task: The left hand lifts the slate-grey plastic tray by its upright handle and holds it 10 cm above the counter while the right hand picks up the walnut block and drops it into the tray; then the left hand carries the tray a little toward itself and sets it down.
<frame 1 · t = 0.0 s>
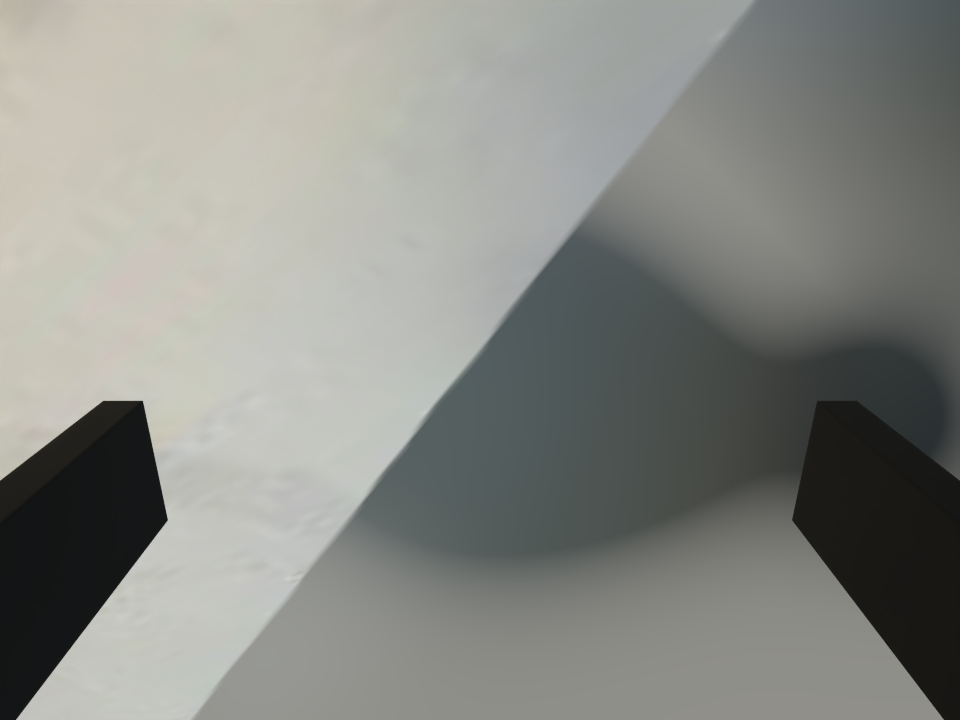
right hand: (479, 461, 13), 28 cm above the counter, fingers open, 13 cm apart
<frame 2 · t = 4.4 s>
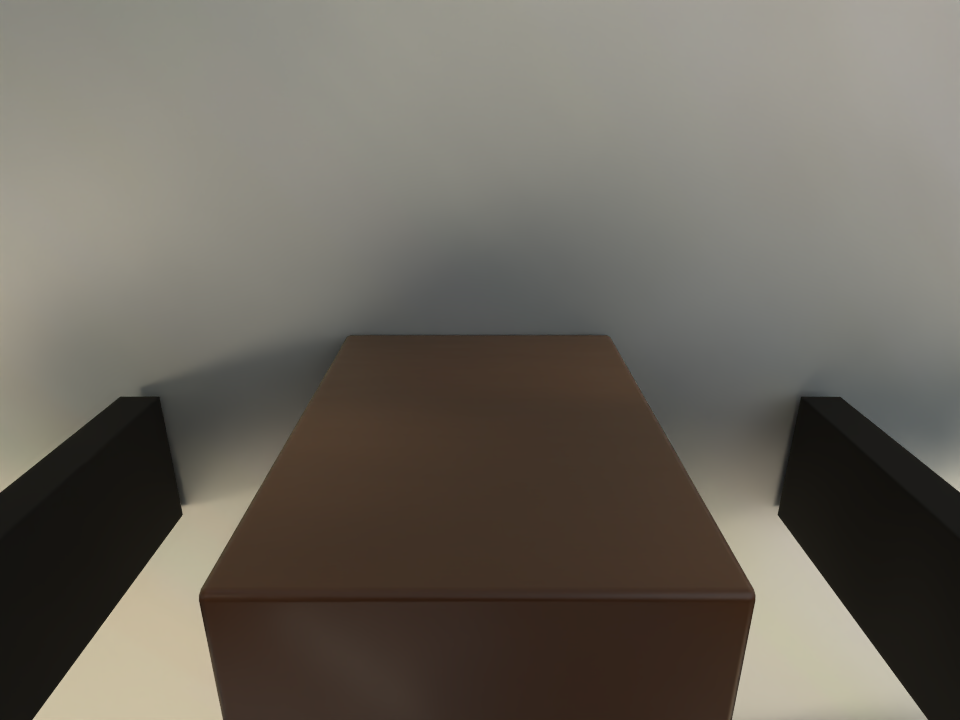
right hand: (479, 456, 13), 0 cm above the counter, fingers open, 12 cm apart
block: (478, 449, 13), on the counter
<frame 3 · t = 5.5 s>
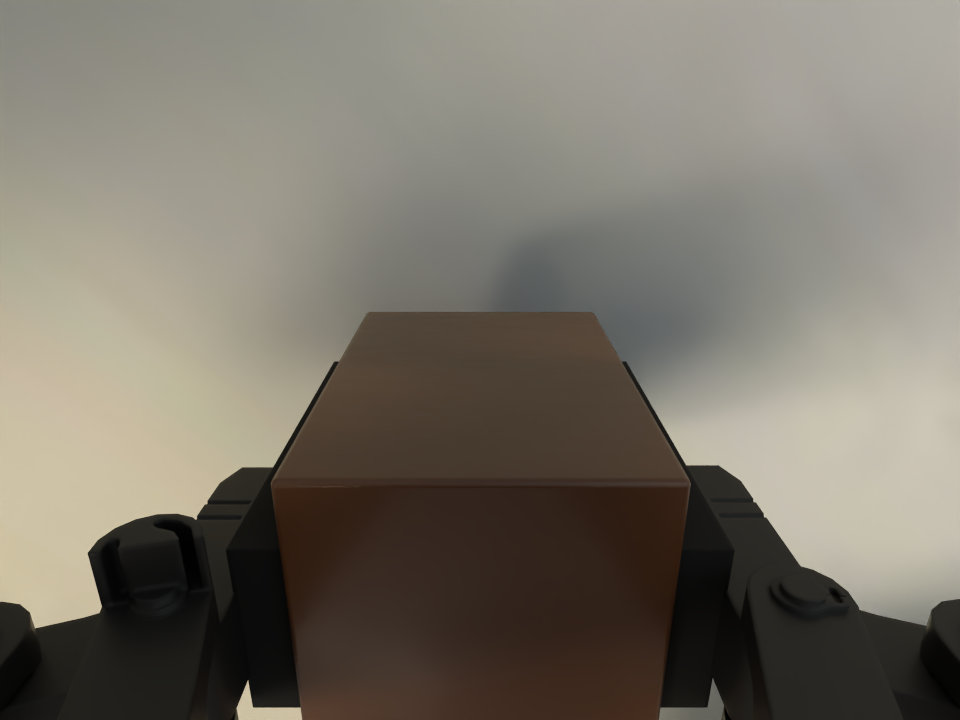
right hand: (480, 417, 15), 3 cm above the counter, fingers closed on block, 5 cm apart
block: (480, 414, 15), point 3 cm above the counter, touching right hand
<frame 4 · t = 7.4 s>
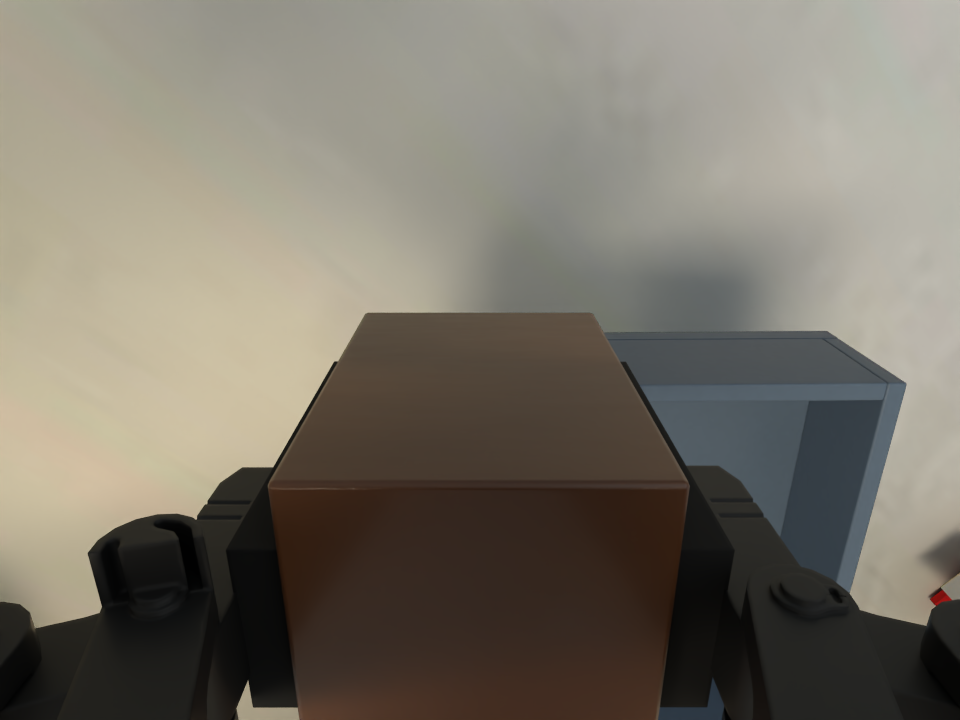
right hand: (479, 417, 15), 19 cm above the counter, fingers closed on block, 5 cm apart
block: (479, 414, 15), point 19 cm above the counter, touching right hand
tray: (610, 503, 27), point 10 cm above the counter, touching left hand
when the right hand's fingers open (15 cm above the counter, at t = 9.3 s): block drops 4 cm, resting on tray.
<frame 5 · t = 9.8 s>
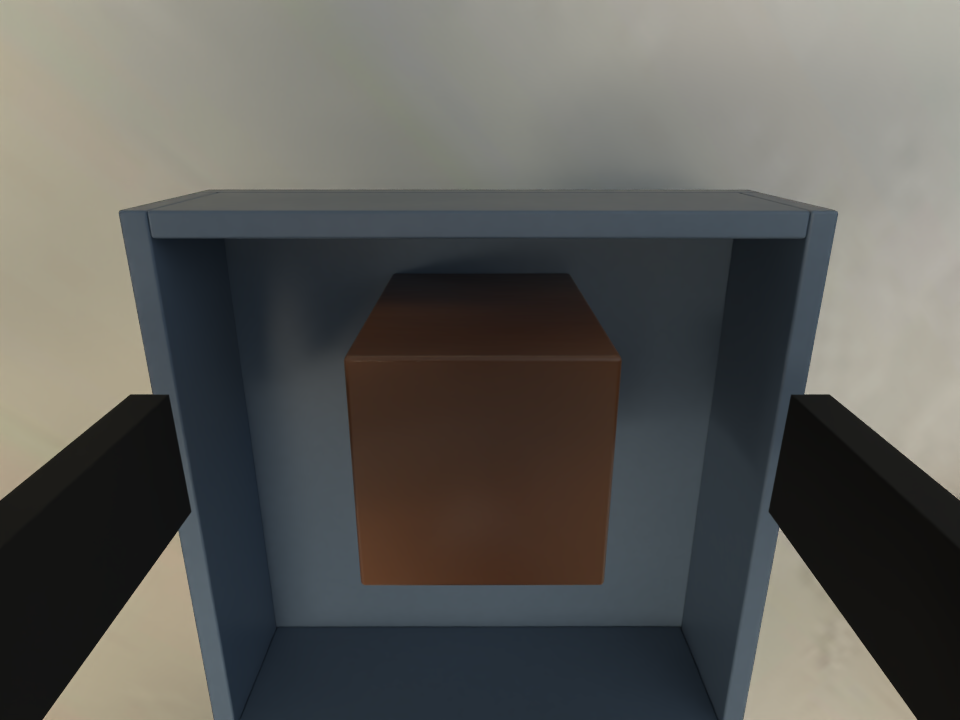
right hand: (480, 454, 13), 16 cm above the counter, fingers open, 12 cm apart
block: (481, 356, 19), point 10 cm above the counter, touching tray
tray: (478, 433, 21), point 10 cm above the counter, touching block, left hand
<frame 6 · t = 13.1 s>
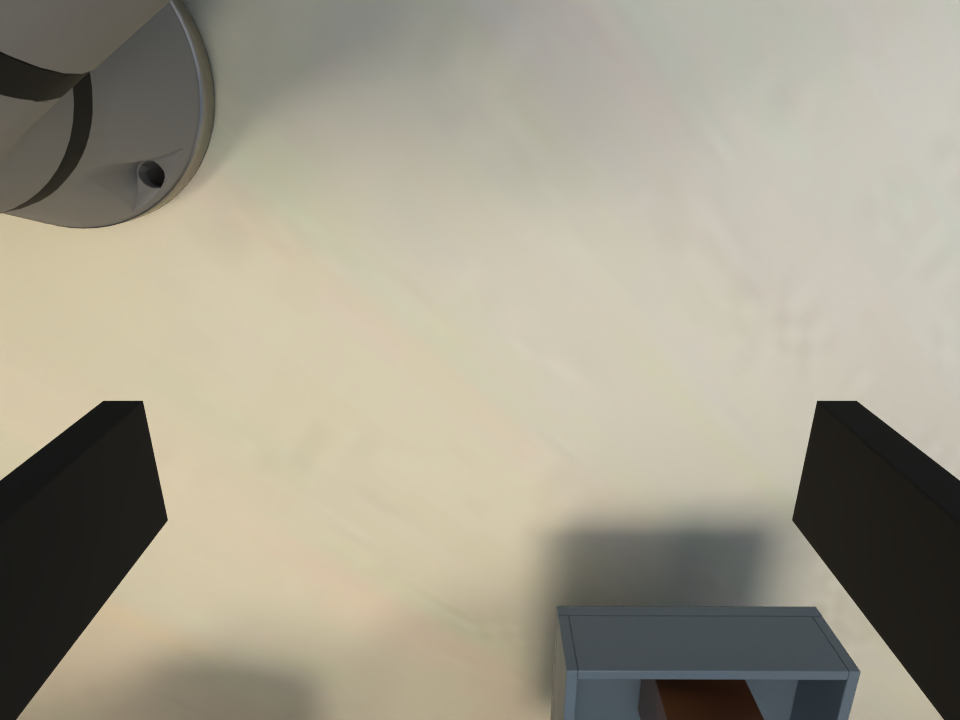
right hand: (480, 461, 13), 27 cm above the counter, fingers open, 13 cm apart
block: (682, 678, 38), point 9 cm above the counter, touching tray
tray: (672, 704, 40), point 8 cm above the counter, touching block, left hand
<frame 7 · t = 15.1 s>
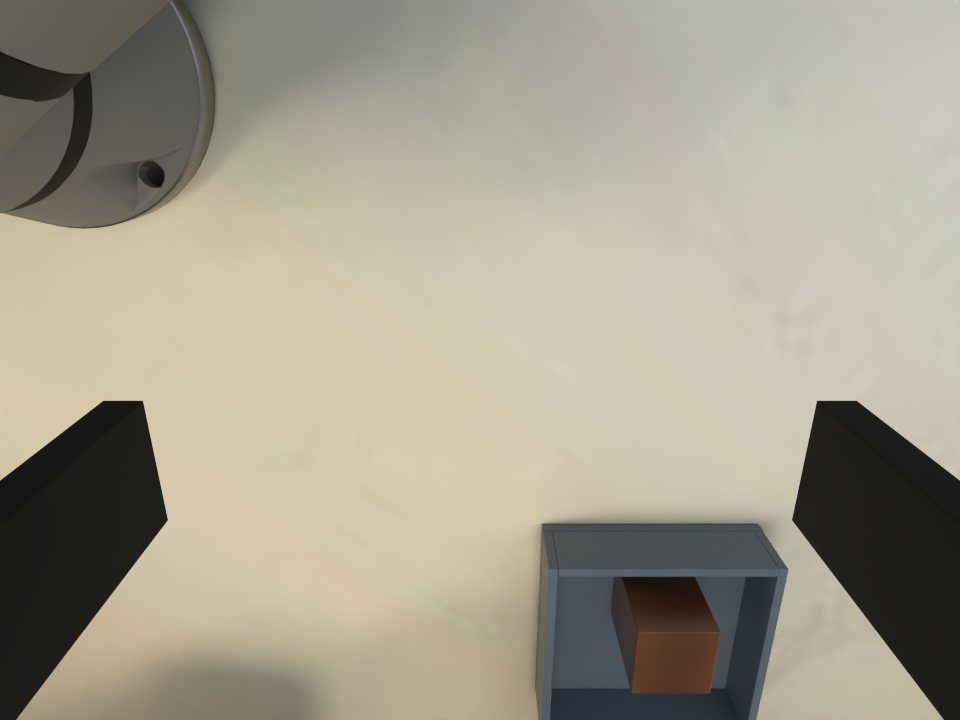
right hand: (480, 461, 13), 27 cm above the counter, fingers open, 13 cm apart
block: (647, 585, 46), point 1 cm above the counter, touching tray
tray: (640, 609, 48), on the counter, touching block
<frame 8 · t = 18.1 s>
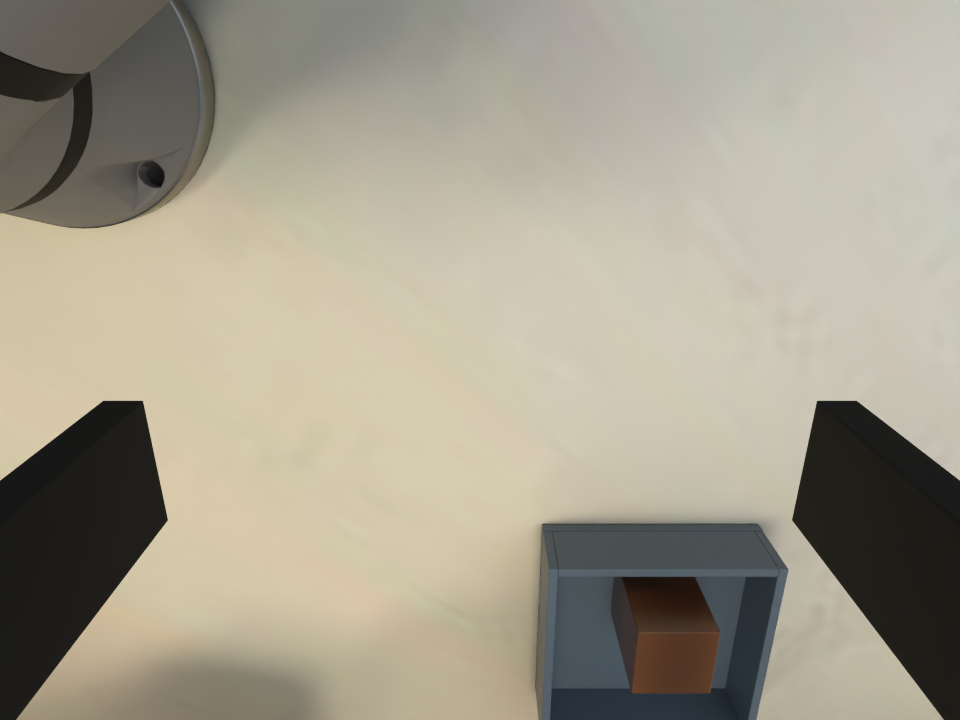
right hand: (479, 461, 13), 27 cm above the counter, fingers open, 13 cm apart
block: (647, 585, 46), point 1 cm above the counter, touching tray
tray: (640, 609, 48), on the counter, touching block
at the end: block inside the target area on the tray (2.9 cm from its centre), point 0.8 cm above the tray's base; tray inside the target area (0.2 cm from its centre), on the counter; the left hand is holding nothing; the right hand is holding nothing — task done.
